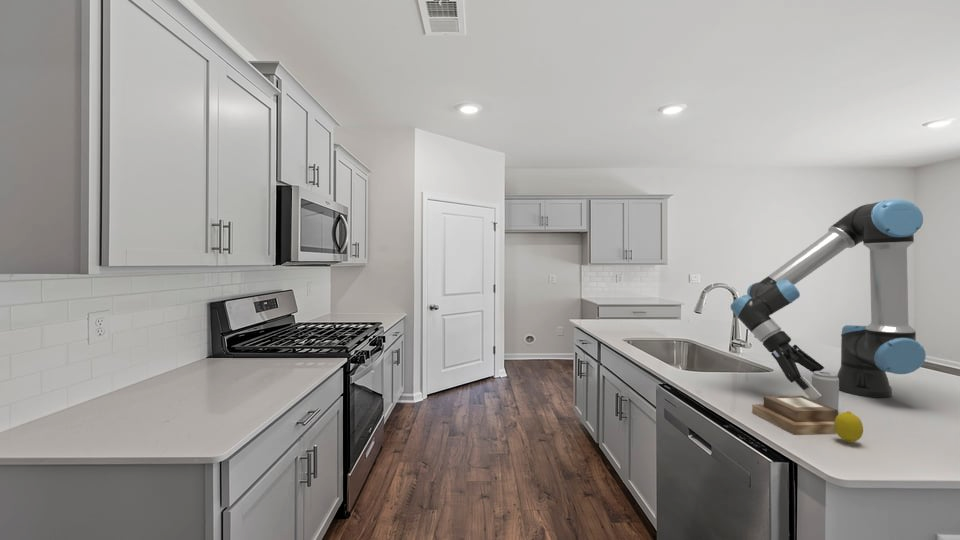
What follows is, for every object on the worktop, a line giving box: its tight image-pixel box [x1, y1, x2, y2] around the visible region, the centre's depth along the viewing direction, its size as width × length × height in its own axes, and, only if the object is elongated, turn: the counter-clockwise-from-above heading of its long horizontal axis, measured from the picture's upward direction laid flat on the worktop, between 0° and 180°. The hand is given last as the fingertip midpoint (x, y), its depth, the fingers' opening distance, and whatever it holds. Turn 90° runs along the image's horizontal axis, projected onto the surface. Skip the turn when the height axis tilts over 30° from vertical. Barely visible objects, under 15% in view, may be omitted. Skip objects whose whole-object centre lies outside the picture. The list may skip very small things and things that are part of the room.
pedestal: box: [751, 395, 839, 435], centre depth 122 cm, size 16×16×6 cm
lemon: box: [834, 411, 864, 444], centre depth 108 cm, size 6×6×8 cm
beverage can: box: [811, 370, 840, 411], centre depth 129 cm, size 6×6×12 cm
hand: (826, 394), depth 129 cm, fingers open, 13 cm apart
